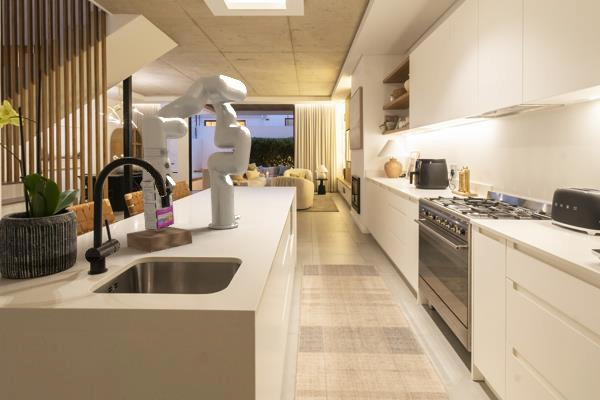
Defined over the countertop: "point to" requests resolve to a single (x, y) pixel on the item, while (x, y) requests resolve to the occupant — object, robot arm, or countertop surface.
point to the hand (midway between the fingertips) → (158, 206)
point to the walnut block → (159, 239)
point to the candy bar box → (155, 208)
